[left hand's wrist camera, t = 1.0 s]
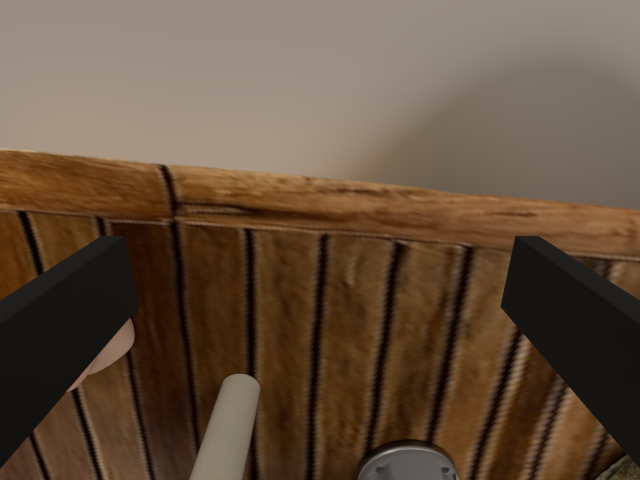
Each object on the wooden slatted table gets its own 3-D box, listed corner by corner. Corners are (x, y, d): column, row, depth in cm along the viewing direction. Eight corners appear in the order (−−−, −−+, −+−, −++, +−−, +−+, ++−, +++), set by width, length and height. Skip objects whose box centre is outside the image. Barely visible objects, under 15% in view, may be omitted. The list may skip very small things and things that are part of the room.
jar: (229, 368, 49) (186, 496, 33) (266, 382, 50) (242, 513, 34) (215, 396, 51) (168, 530, 35) (251, 409, 52) (221, 545, 36)
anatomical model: (79, 289, 40) (143, 364, 44) (100, 273, 43) (157, 343, 47) (-10, 335, 42) (58, 402, 46) (17, 316, 46) (78, 380, 49)
